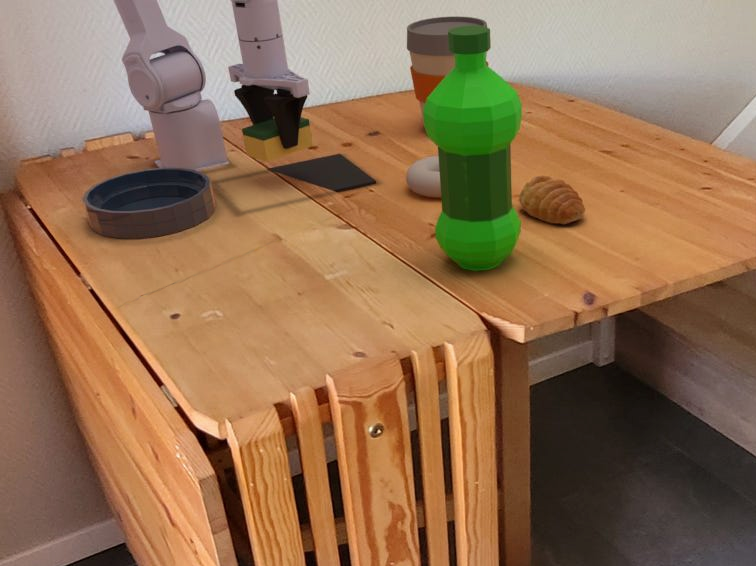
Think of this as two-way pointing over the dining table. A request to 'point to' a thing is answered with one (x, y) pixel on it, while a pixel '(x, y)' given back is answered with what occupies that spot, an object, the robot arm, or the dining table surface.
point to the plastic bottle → (474, 154)
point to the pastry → (551, 200)
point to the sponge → (273, 140)
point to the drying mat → (327, 173)
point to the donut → (425, 177)
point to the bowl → (149, 203)
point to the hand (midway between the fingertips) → (278, 143)
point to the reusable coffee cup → (433, 52)
